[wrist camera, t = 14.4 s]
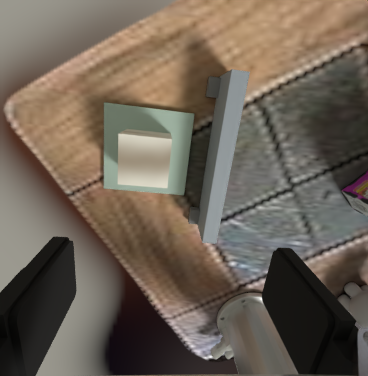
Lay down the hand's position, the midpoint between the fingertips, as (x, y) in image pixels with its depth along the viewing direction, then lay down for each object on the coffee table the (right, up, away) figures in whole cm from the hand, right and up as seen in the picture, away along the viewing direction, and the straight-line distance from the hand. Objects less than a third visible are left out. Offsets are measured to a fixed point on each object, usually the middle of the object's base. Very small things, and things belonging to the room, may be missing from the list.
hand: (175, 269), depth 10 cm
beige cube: (-5, +9, +21) cm, 24 cm away
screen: (+5, +8, +23) cm, 25 cm away
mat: (-5, +9, +22) cm, 24 cm away
